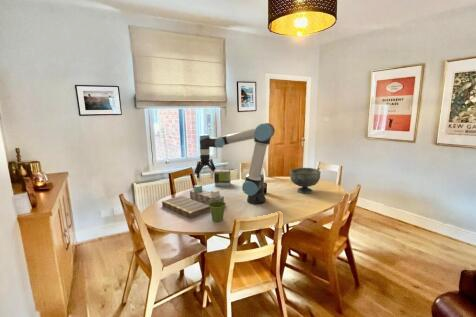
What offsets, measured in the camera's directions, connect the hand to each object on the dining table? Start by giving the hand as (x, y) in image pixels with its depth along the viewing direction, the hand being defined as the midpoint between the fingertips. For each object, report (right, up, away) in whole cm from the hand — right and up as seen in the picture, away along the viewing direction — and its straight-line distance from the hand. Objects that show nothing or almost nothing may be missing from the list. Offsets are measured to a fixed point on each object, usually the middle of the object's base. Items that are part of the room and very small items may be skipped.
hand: (205, 180), depth 201 cm
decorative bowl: (+87, -13, +25) cm, 92 cm away
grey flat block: (-14, -21, -12) cm, 28 cm away
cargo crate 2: (+8, -12, -5) cm, 16 cm away
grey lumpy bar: (0, -18, +3) cm, 18 cm away
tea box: (+11, -9, +50) cm, 52 cm away
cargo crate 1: (-8, -10, +9) cm, 15 cm away
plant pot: (+12, -24, -32) cm, 42 cm away
